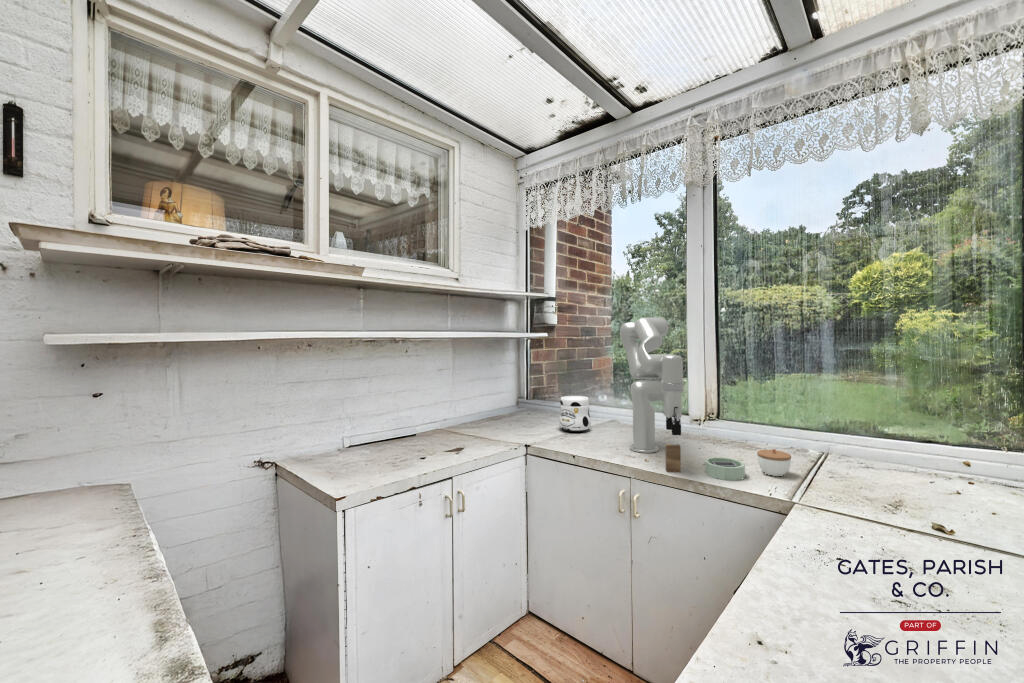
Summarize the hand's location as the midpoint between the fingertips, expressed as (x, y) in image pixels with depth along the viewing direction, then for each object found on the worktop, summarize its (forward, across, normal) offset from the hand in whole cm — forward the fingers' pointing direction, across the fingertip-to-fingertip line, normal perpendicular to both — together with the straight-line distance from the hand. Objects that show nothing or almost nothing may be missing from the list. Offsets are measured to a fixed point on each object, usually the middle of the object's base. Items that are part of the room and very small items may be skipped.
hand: (673, 432), depth 163 cm
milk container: (+14, -67, -37) cm, 78 cm away
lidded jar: (+16, -1, +36) cm, 39 cm away
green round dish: (+15, +1, +18) cm, 23 cm away
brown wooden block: (+15, -1, 0) cm, 15 cm away
